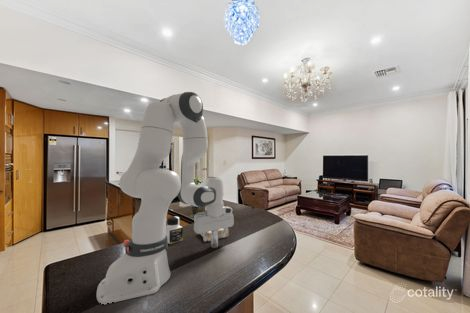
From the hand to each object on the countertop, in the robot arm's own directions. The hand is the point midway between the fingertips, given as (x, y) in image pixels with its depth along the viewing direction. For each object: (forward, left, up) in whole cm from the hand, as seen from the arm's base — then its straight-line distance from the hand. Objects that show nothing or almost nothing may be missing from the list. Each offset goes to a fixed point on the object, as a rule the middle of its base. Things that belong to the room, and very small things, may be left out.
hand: (214, 238), depth 96 cm
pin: (0, 0, -4) cm, 4 cm away
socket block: (+6, +13, -4) cm, 15 cm away
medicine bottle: (-15, +18, -4) cm, 24 cm away
